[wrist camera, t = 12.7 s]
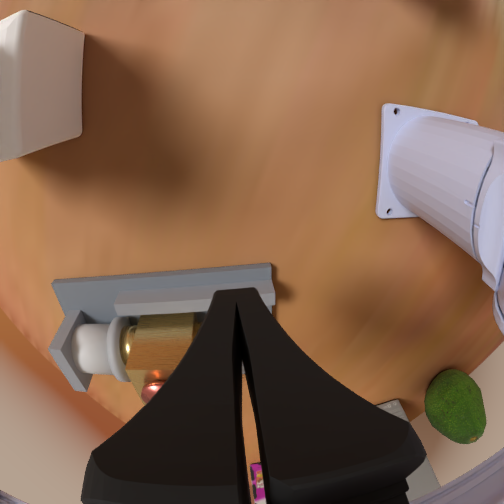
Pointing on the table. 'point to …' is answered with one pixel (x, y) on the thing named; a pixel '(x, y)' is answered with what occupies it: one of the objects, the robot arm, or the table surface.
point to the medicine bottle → (38, 83)
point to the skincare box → (424, 475)
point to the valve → (156, 349)
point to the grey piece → (135, 311)
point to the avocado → (456, 406)
